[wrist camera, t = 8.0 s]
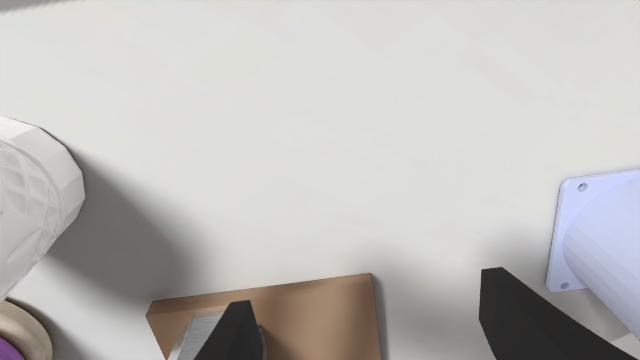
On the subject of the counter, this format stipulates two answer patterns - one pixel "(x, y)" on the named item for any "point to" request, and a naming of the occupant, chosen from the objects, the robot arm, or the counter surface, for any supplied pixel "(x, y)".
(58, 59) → the counter surface
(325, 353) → the board
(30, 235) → the white cup
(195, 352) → the gear ring
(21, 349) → the stacking toy
